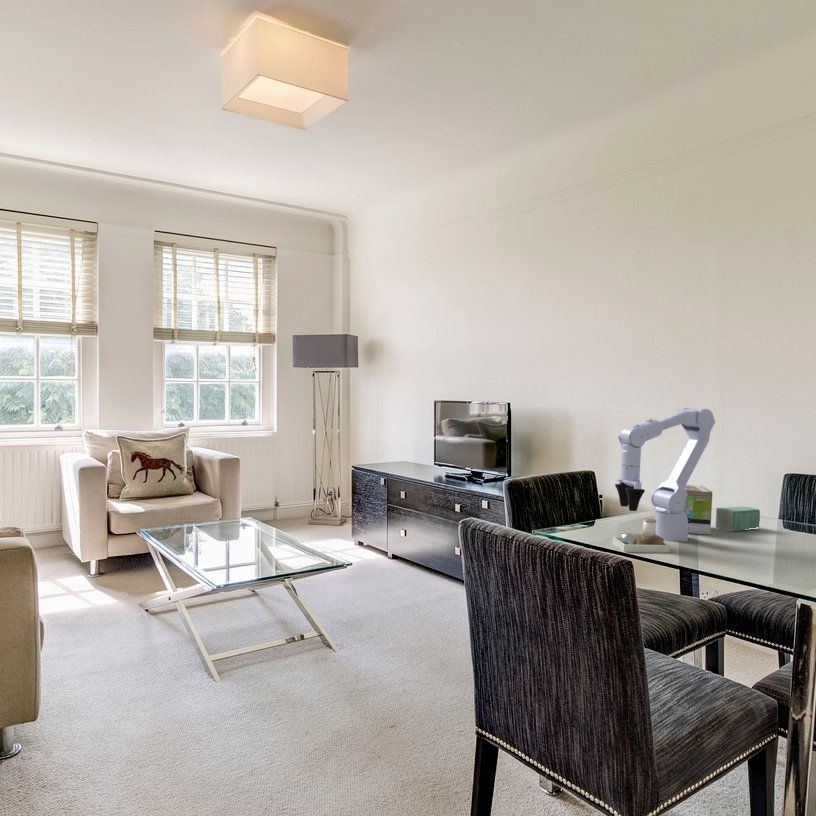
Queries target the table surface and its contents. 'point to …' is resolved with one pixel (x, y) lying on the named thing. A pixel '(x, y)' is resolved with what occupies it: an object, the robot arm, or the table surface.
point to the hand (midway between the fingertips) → (628, 508)
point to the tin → (628, 538)
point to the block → (649, 540)
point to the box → (737, 518)
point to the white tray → (640, 547)
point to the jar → (649, 527)
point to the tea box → (698, 509)
